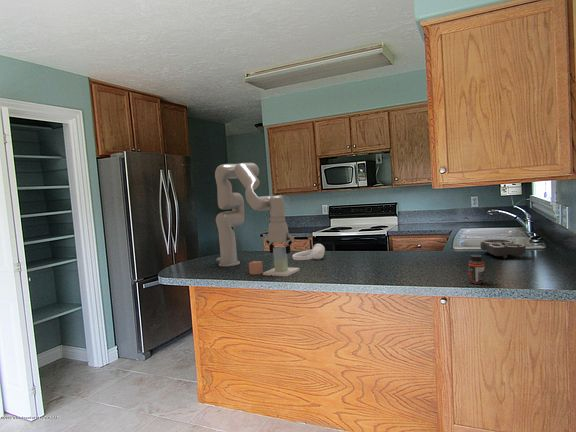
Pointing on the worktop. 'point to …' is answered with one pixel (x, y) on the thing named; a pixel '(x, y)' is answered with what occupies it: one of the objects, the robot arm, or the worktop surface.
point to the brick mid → (279, 253)
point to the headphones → (314, 253)
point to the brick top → (256, 267)
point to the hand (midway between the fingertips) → (280, 253)
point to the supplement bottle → (476, 270)
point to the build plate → (277, 273)
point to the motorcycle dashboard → (503, 247)
